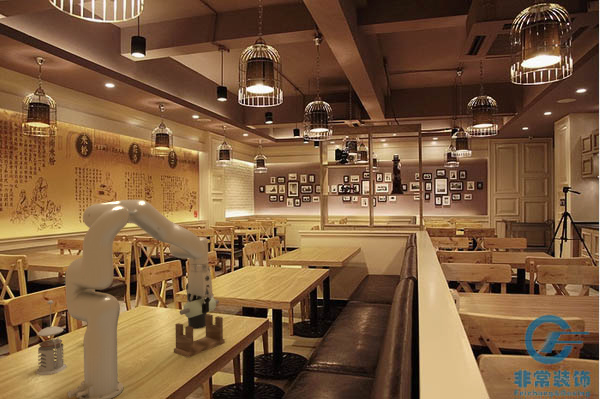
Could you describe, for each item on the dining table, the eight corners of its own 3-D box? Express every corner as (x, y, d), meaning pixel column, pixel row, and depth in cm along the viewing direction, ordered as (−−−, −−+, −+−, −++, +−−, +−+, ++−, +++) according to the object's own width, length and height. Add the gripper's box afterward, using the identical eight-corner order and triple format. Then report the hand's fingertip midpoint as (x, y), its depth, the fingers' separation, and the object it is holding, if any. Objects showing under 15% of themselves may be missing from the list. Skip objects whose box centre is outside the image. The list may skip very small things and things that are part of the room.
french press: (60, 361, 156) (59, 295, 155) (73, 369, 148) (72, 300, 148) (30, 370, 148) (29, 300, 148) (43, 379, 141) (42, 306, 140)
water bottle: (184, 324, 199) (184, 277, 199) (205, 321, 204) (205, 275, 203) (188, 330, 190) (187, 280, 190) (210, 327, 194) (209, 278, 194)
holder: (188, 357, 158) (188, 328, 158) (173, 352, 164) (173, 324, 164) (224, 342, 174) (224, 316, 174) (210, 338, 179) (209, 313, 179)
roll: (186, 321, 159) (185, 306, 159) (176, 318, 163) (176, 303, 163) (222, 309, 175) (222, 295, 175) (212, 307, 178) (212, 293, 178)
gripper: (220, 268, 166) (221, 312, 167) (192, 264, 177) (193, 305, 177) (206, 271, 160) (207, 317, 161) (178, 267, 170) (179, 310, 171)
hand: (200, 310), depth 169 cm, fingers closed on roll, 6 cm apart
